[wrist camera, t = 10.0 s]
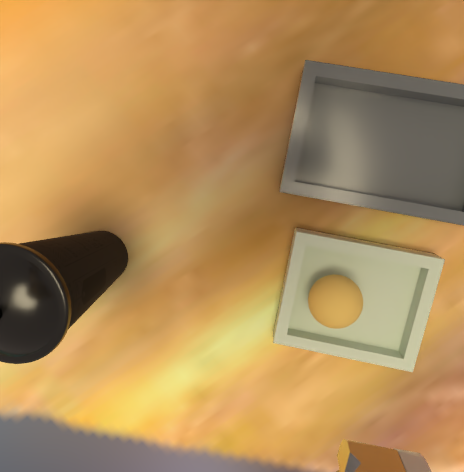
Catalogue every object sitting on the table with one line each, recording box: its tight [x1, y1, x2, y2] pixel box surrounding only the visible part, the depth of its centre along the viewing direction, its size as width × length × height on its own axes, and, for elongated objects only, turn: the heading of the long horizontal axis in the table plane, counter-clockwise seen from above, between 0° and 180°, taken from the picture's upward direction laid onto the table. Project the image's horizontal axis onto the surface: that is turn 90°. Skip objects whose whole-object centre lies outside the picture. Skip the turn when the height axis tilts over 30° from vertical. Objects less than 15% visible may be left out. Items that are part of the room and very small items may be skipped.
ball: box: [308, 274, 363, 329], centre depth 33 cm, size 4×4×4 cm
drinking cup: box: [0, 231, 128, 364], centre depth 28 cm, size 8×8×20 cm
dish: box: [279, 60, 464, 225], centre depth 32 cm, size 10×16×3 cm, turn 80°
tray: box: [273, 228, 445, 372], centre depth 34 cm, size 10×12×2 cm
